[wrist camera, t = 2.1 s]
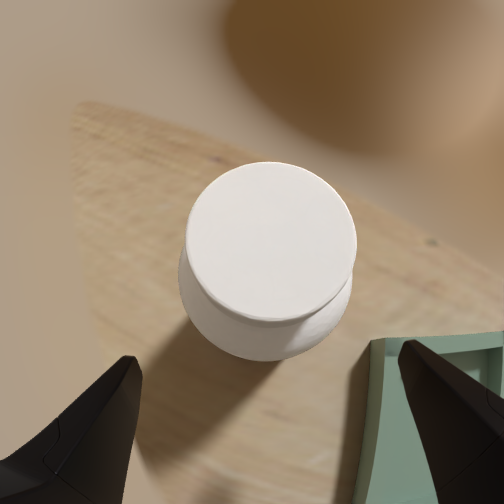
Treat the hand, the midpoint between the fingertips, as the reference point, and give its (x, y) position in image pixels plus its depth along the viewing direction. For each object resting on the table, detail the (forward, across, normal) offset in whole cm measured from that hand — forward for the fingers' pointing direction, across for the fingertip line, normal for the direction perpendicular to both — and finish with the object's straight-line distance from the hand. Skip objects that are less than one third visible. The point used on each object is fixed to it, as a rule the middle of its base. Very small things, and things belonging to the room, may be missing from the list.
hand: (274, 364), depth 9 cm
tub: (+2, -13, +12) cm, 18 cm away
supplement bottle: (+10, 0, +5) cm, 11 cm away
